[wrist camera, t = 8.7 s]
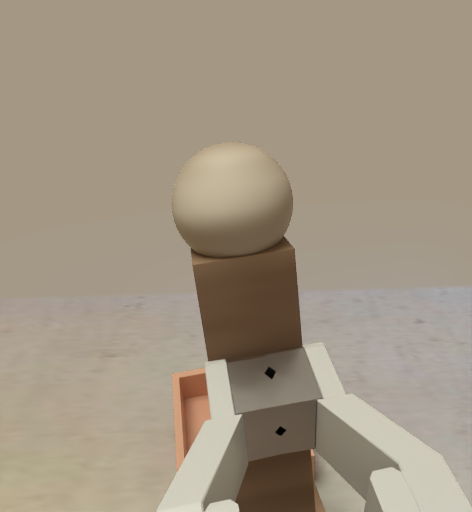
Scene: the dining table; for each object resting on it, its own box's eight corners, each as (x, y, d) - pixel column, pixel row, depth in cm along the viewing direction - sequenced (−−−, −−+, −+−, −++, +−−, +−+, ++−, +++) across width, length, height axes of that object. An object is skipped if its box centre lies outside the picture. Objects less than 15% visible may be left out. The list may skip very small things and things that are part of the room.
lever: (452, 703, 17) (495, 111, 10) (146, 781, 16) (-62, 187, 9) (332, 445, 29) (312, 109, 22) (159, 480, 28) (80, 140, 21)
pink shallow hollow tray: (313, 480, 34) (314, 455, 32) (184, 507, 34) (177, 483, 32) (282, 379, 43) (281, 354, 41) (178, 398, 42) (172, 373, 40)
